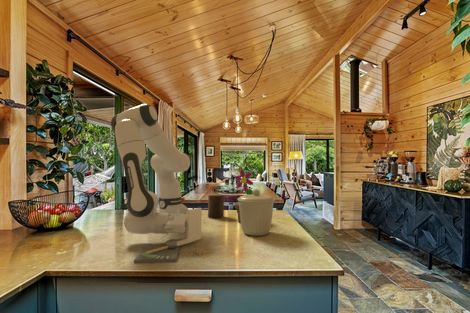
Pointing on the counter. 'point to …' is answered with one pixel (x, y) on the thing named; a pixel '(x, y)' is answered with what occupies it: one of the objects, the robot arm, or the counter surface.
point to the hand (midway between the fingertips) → (197, 222)
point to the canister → (256, 213)
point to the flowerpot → (245, 182)
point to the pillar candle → (215, 205)
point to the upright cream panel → (192, 230)
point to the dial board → (157, 255)
